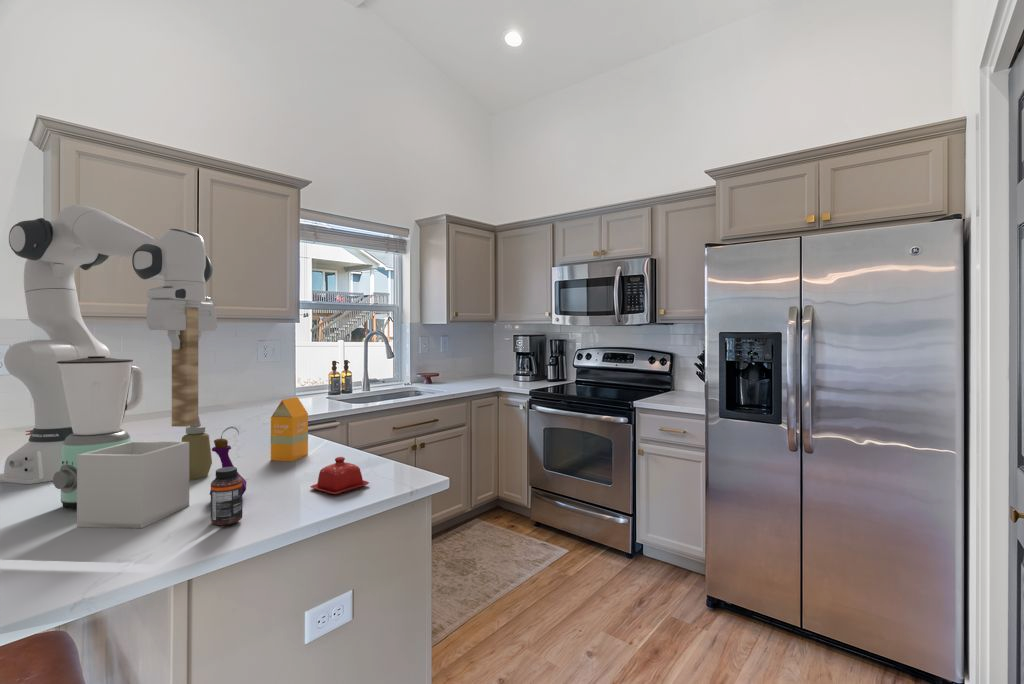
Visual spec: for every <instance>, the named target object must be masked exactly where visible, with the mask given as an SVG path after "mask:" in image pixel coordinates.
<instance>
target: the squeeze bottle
mask: <svg viewBox="0 0 1024 684" xmlns="http://www.w3.org/2000/svg"><path fill="white" fill-rule="evenodd" d="M180 442H189V481H190V480H192V481H193V480H200V479H203V478H207V477H208V476H209V473H210V470H211V467H212V465H213V459H212V448H211V441H210V434H208V433H207V432H206V425H202V424H201V421H200V416H199V415H198V424H196V425H192V426H188V427H185V435H182V437H181V441H180Z"/></svg>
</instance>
